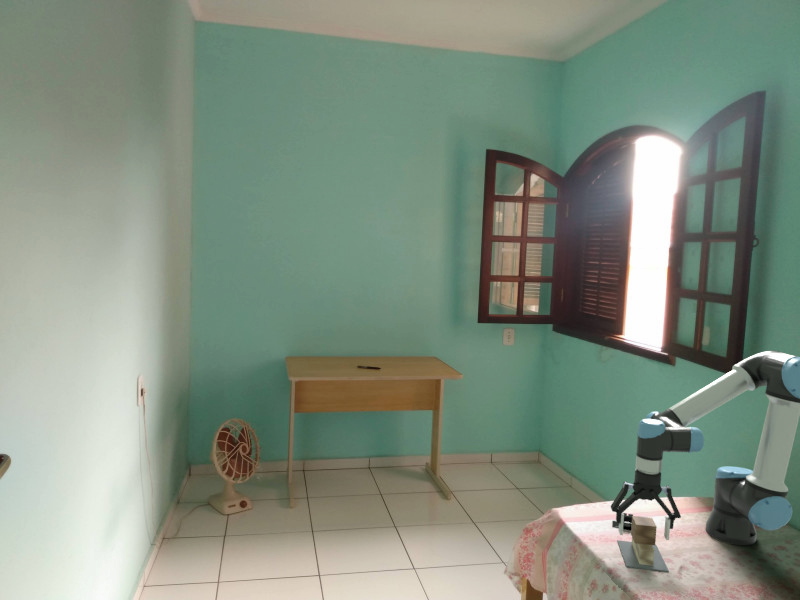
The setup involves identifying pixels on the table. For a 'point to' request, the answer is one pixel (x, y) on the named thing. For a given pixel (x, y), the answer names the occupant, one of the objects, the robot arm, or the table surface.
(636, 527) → the walnut cube
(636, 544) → the plinth
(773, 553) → the table surface
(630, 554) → the mat
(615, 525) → the black plastic holder
